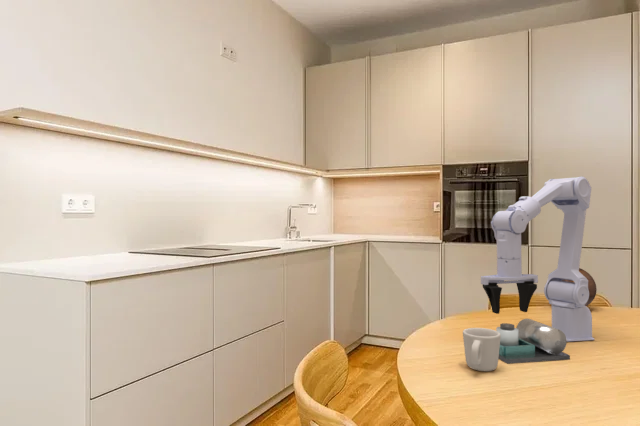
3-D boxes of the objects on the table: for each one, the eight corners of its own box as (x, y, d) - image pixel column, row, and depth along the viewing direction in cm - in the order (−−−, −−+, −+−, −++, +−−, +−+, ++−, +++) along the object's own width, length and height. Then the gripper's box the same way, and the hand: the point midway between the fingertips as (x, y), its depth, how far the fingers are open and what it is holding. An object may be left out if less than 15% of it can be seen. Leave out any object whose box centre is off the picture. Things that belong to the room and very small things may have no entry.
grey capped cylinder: (512, 346, 113) (512, 322, 113) (522, 352, 108) (522, 327, 108) (493, 346, 113) (492, 322, 113) (502, 352, 108) (501, 327, 108)
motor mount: (534, 343, 118) (534, 317, 118) (569, 359, 105) (569, 329, 105) (478, 347, 116) (478, 319, 116) (507, 363, 103) (506, 333, 103)
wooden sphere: (559, 302, 171) (558, 263, 171) (603, 309, 159) (602, 266, 160) (541, 308, 162) (540, 266, 162) (586, 315, 150) (586, 270, 150)
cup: (494, 381, 92) (494, 342, 92) (455, 373, 96) (455, 336, 96) (503, 365, 101) (503, 330, 101) (467, 359, 106) (467, 326, 106)
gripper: (525, 255, 118) (526, 307, 118) (474, 257, 116) (474, 310, 116) (543, 258, 111) (543, 313, 111) (488, 260, 109) (489, 316, 109)
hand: (509, 312), depth 113 cm, fingers open, 7 cm apart
